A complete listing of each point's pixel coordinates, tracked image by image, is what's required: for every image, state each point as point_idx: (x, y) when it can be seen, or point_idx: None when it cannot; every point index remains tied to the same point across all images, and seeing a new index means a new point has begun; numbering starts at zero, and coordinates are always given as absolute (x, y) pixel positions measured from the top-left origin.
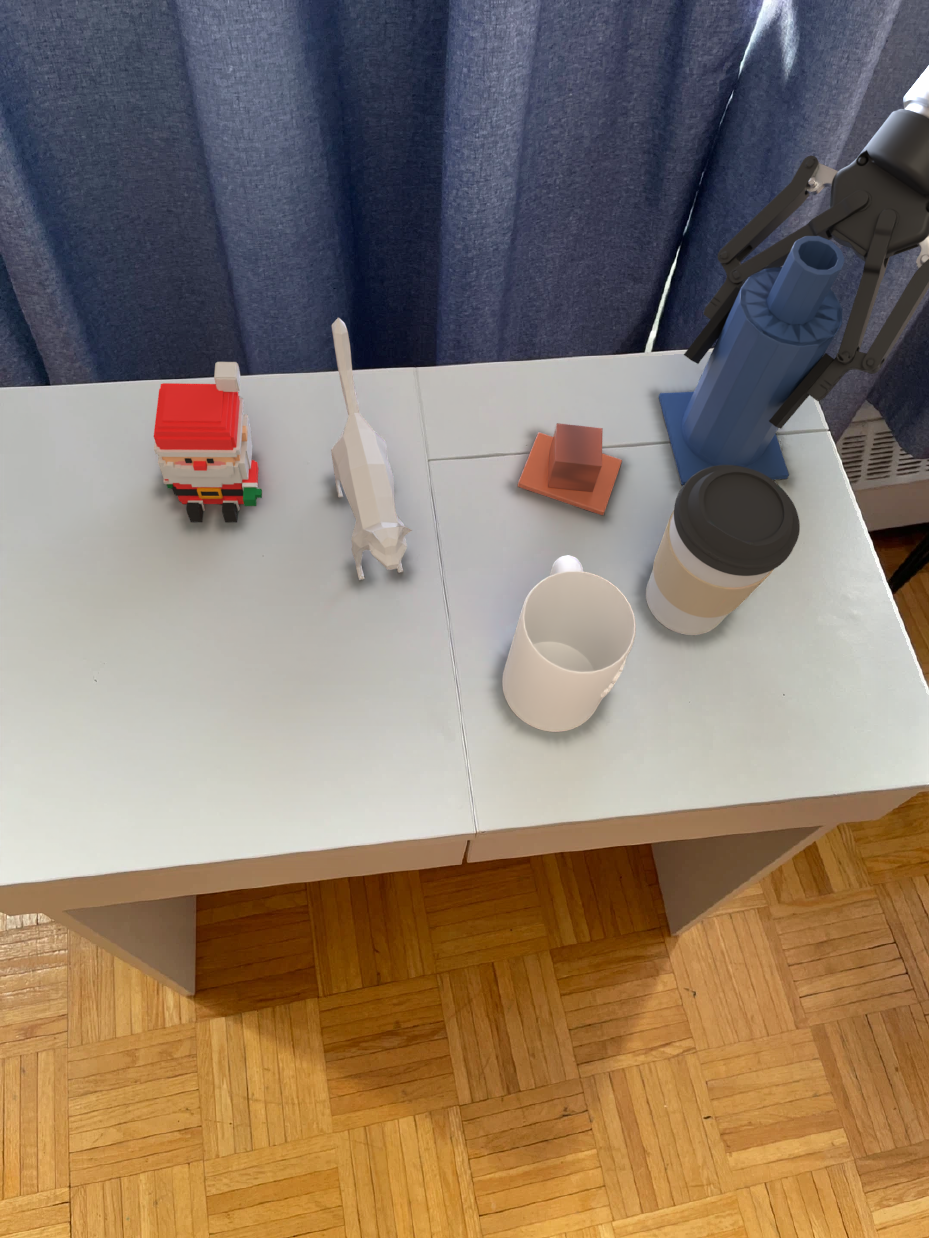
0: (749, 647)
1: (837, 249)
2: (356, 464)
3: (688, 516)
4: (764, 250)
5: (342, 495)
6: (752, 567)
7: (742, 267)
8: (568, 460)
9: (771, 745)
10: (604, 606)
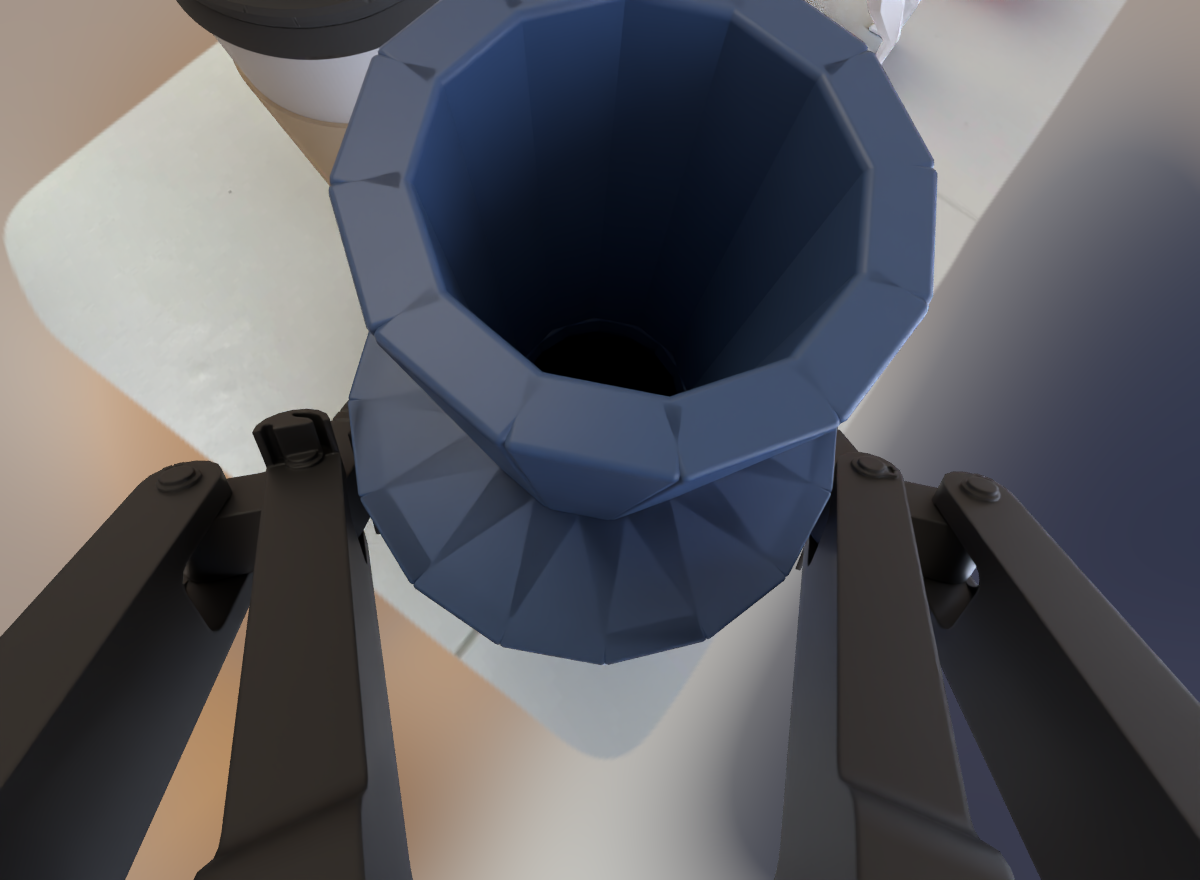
0: (311, 215)
1: (543, 414)
2: None
3: None
4: (920, 570)
5: (870, 26)
6: None
7: (890, 491)
8: None
9: (206, 125)
10: None
